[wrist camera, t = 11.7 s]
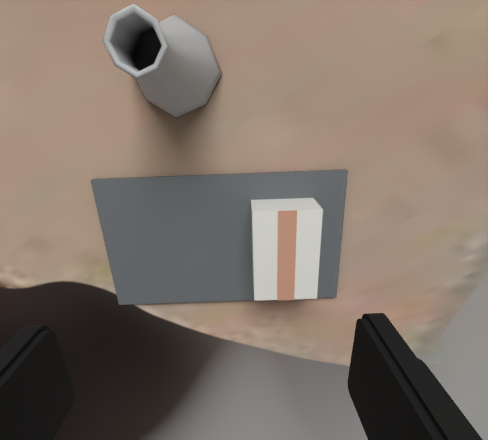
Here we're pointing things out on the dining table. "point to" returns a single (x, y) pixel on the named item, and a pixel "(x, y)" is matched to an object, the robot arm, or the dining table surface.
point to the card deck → (286, 248)
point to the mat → (205, 232)
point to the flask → (163, 58)
